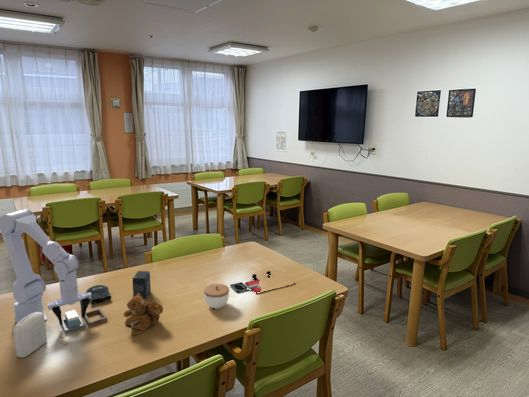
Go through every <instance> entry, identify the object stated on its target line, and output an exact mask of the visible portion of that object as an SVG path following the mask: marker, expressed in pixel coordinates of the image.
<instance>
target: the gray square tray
mask: <svg viewBox="0 0 529 397" xmlns="http://www.w3.org/2000/svg"><path fill="white" fill-rule="evenodd" d="M78 316H79V325H78V326H75V327H72V328H69V329H68V327H67V325H66V319H65V318H62V323H63V325H61V327H62V329H63V331H64V334H65V335H69V334H71V333H74V332H77V331H81V330H84V329H86V324H85V322H84V321H83V318H82V316H80V314H78Z"/></svg>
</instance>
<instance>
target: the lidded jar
mask: <svg viewBox="0 0 529 397" xmlns="http://www.w3.org/2000/svg"><path fill="white" fill-rule="evenodd" d="M203 294H204V301H205V302H206V305H207V306H209V308H210V307H211V308H210V309H212V308H215V309H214V310H219V309H218V308H220V309H222V308H223V307H224V306H225V305H226V304H227V303H228V302H229V301H228V300H229V297H230V296H229V295H230V287H229V286H227V285H226V284H223V283H213V284H209V285H207V286H206V287H205V288H204V289H203ZM221 307H222V308H221Z"/></svg>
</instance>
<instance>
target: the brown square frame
mask: <svg viewBox="0 0 529 397" xmlns="http://www.w3.org/2000/svg"><path fill="white" fill-rule="evenodd" d="M96 314H99V315H100V316H101V318H98V319H95V320H92V321H91V320H90V318H89V316H93V315H96ZM83 319H84V321H85V323H86V324H87V325H88V327H93V326H96V325H98V324H102V323H105V322H107V321H108V317H107V316H106V314H105V313H104V311H103V309H101V308H95V309H92V310H88V311H86V313H85V318H83Z"/></svg>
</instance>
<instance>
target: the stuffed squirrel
mask: <svg viewBox="0 0 529 397" xmlns="http://www.w3.org/2000/svg"><path fill="white" fill-rule="evenodd" d="M126 307H127V308H128V310H125V311H124V312H123V316H124V317H125V318H126V319H125V321H124V323H125V325H128V326H131V328H132V329H131V332H130V334H131V336H137V335H139V334H142V333H144V332H145V331H146V330H147V329H148V328H150V327H152V326H154V325H156V324H157V323H158V322H159V320H160V318H161V316H160V315H161V314H162V313H163V311H164V306H163V305H162V304H160V303H159V302H157V301H156V300H150V301H148V302H147V303H146V304H145V300H143V298H142V297H141V296H140V293H138V294H137V296H134V297H132V298H131V299H129V300H128V302H127V303H126Z"/></svg>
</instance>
